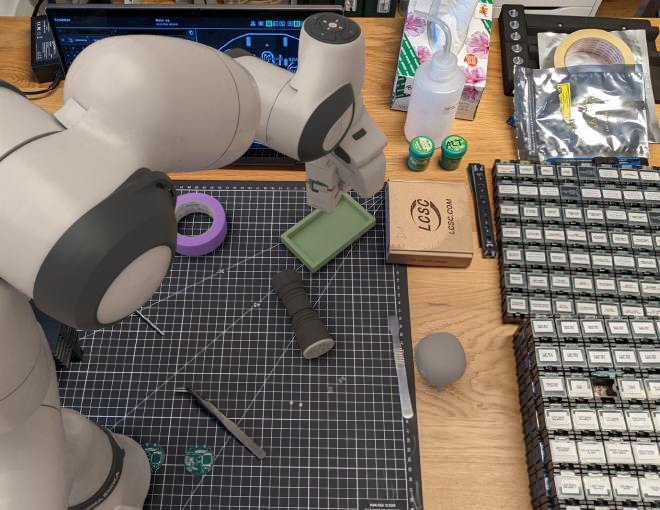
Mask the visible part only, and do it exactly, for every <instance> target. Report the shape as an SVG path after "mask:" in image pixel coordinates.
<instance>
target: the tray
mask: <svg viewBox="0 0 660 510" xmlns="http://www.w3.org/2000/svg"><path fill="white" fill-rule="evenodd" d="M376 221H377V219H376V217H374V216H373V215H372V214H371V213H370V212H369V211H368V210H367V209H366V208H365V207H363V206H362V205H361V204H360V203H359V202H358V201H357V200H355V198H353V196H351V195H350V194H349V193H348V192H347V193H344V192H343V193H342V195H341V197H340V199H339V201H338V203H337V205H336V207H335V209H334V211H333V213H331V214H330V213H327V212H324V211H322V210H319V209H317V208H315V209H314V210H313V211H312V212H310V213H309V214H307V215H306V216H305V217H304V218H302V219H301V220H300V221H298V222H297V223H295V224H294V225H293V226H291V227H290V228H289V229H287V230H286V231H285V232H284V233H282V234H280V242H281V243H282V244H283V245H284V246H285V247H286V248H287V249H288V250H289V251H290V252H291V254H293V255H294V256H295V257H296V259H298V260H299V261H300V262H301V263H302V264H303V265H304V266H305V267H306V268H307V269H308V270H309V271H310V272H311V273H312V274H315V273H316V272H317V271H319V270H320V269H321V268H322V267H324V266H325V265H326V264H327V263H328V262H330V261H331V260H332V259H334V258H335V257H337V256H338V255H340V253H341V252H343V251H344V250H345V249H346V248H348V247H349V246H350V245H352V244H353V243H354V242H356V240H358V239H359V238H361V237H362V236H363V235H364V234H365V233H367V232H368V231H370V229H372V228H373V227H375V226H376Z"/></svg>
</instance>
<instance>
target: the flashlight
mask: <svg viewBox="0 0 660 510" xmlns="http://www.w3.org/2000/svg"><path fill="white" fill-rule="evenodd" d="M271 282H272V283H271V284H272V286H271V287H272V289H273V291H274V293H275V296H277V297H278V298H279V300H280V301H281V304H282V305H283V308H284V309H285V310H286V312H287V314H288V317H289V318H290V320H291V321H292V322H291V328H292V330H293V332H294V334H295V339H296V342H297V344H298V347H299V349H300V351H301V353H302V355H303V358H304V359H308V360H309V359H311V360H312V359H314V358H317V357H321V356H322V355H324V354H326V353H327V352H329V351H330V350H331V349H332V348H334V346H335V341H334V340H333V338H332V335H331V334H330V332H329V330H328V327H327V326H326V325H325V324H324V323H323V321H322V318H321V316H320V314H319V313H318V312H317V311H314V310H315V309H314V307H313V305H312V302H311V301H310V299H309V295H308V292H307V290H306V288H305V285H304V284H305V281H304V280H303V277H302V275H301V274H300V272H298V271H297V270H296V269H295V268H286V269H283V270H280V271H279V272H278V273H276V274H275V275H274V276H273V277H272V279H271Z"/></svg>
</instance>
